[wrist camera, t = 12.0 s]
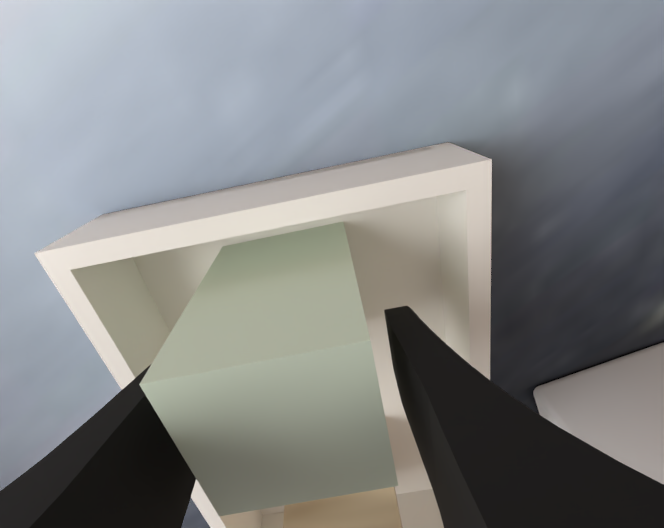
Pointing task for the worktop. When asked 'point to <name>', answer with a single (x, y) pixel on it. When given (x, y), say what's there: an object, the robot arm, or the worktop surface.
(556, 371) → the worktop surface
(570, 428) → the medicine bottle
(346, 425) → the sage block
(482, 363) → the serving tray
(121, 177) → the worktop surface
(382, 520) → the maple block
